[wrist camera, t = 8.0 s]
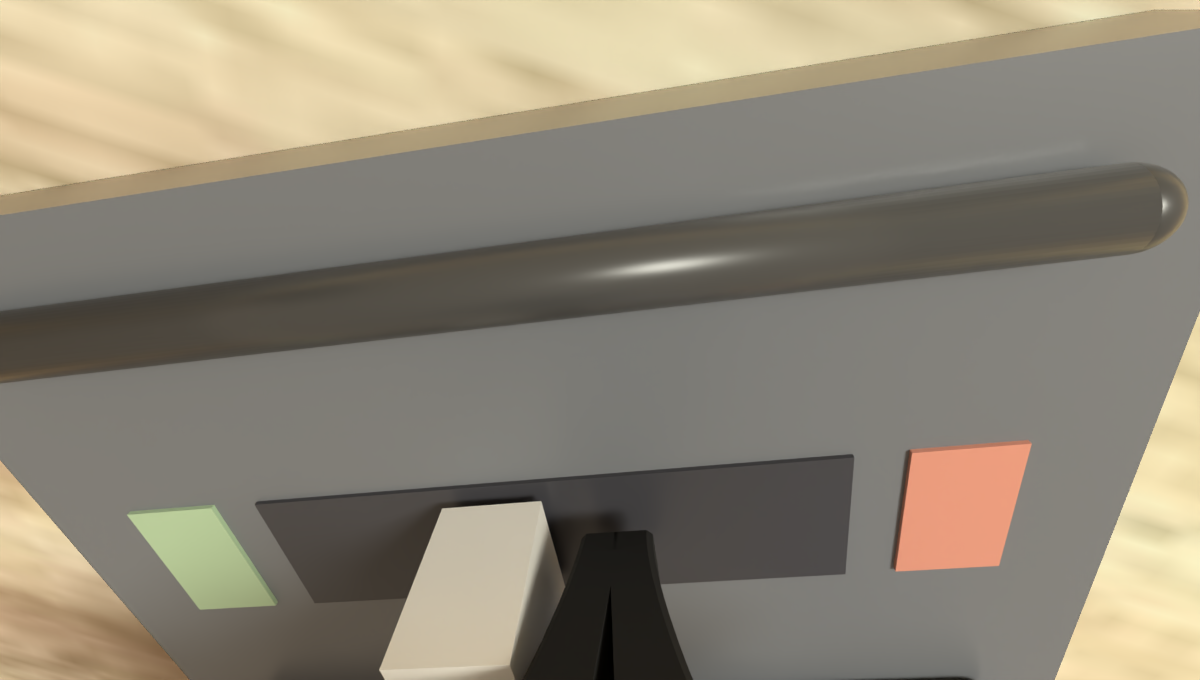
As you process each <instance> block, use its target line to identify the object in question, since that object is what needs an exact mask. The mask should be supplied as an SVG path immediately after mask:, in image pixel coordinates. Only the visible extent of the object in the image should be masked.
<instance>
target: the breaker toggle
mask: <svg viewBox="0 0 1200 680" xmlns="http://www.w3.org/2000/svg"><path fill="white" fill-rule="evenodd" d="M564 588H565V584H564V581H563V577H562V573H561V570H560V566H559V563H558V559H557V556H556V552H555V548H554V545H553V541H552V538H551V534H550V531H549V527H548V523H547V520H546V516H545V513H544V509H543V506H542V502H541V501H536V502H523V503H509V504H496V505H482V506H469V507H456V508H442V510H441V513H440V515H439V518H438V520H437V523H436V526H435V528H434V531H433V533H432V536H431V538H430V541H429V544H428V546H427V549H426V551H425V554H424V556H423V559H422V561H421V564H420V567H419V569H418V572H417V574H416V577H415V579H414V582H413V585H412V587H411V590H410V592H409V595H408V597H407V600H406V603H405V605H404V608H403V610H402V613H401V615H400V618H399V621H398V623H397V626H396V628H395V631H394V633H393V636H392V639H391V641H390V644H389V646H388V649H387V651H386V654H385V656H384V659H383V662H382V664H381V667H380V669H379V670H380V672H381V674H382V676H383V677H384V679H385V680H522V679H523V677H524V675H525V673H526V671H527V669H528V667H529V665H530V663H531V661H532V659H533V658H534V656H535V654H536V652H537V650H538V647H539V645H540V643H541V641H542V639H543V637H544V635H545V632H546V630H547V628H548V626H549V623H550V621H551V619H552V617H553V614H554V612H555V610H556V608H557V605H558V603H559V601H560V598H561V596H562V593H563V591H564Z"/></svg>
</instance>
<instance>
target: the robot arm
mask: <svg viewBox="0 0 1200 680" xmlns="http://www.w3.org/2000/svg"><path fill="white" fill-rule="evenodd" d="M522 680H693V678H692V676H691V673H690V671H689V668H688V666H687V663H686V660H685V658H684V655H683V652H682V650H681V647H680V644H679V641H678V639H677V636H676V633H675V630H674V627H673V624H672V621H671V618H670V615H669V612H668V609H667V606H666V602H665V599H664V595H663V592H662V588H661V584H660V578H659V571H658V564H657V558H656V551H655V545H654V538H653V534H652V533H651V532H649V531H647V530H637V531H621V532H606V533H590V534H586V535H585V536H584V537H583V538H582V539H581V543H580V546H579V550H578V553H577V556H576V559H575V562H574V564H573V567H572V570H571V573H570V575H569V578H568V581H567V583H566V586H565V588H564V591H563V593H562V596H561V598H560V601H559V603H558V605H557V608H556V610H555V612H554V614H553V617H552V619H551V621H550V623H549V626H548V628H547V630H546V632H545V635H544V637H543V639H542V641H541V643H540V645H539V647H538V650H537V652H536V654H535V656H534V658H533V659H532V661H531V663H530V665H529V667H528V669H527V671H526V673H525V675H524V677H523V679H522Z"/></svg>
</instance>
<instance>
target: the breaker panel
mask: <svg viewBox="0 0 1200 680" xmlns="http://www.w3.org/2000/svg"><path fill="white" fill-rule="evenodd" d="M1199 312H1200V10H1151V11H1145V12H1139V13H1132V14H1126V15H1120V16H1114V17H1107V18H1101V19H1095V20H1089V21H1083V22H1076V23H1070V24H1064V25H1058V26H1052V27H1045V28H1039V29H1033V30H1027V31H1020V32H1014V33H1008V34H1002V35H996V36H989V37H983V38H977V39H971V40H964V41H958V42H952V43H946V44H940V45H933V46H927V47H921V48H915V49H909V50H902V51H896V52H890V53H884V54H877V55H871V56H865V57H859V58H853V59H846V60H840V61H834V62H828V63H821V64H815V65H809V66H803V67H797V68H790V69H784V70H778V71H772V72H766V73H759V74H753V75H747V76H741V77H734V78H728V79H722V80H716V81H710V82H703V83H697V84H691V85H685V86H678V87H672V88H666V89H660V90H654V91H647V92H641V93H635V94H629V95H623V96H616V97H610V98H604V99H598V100H591V101H585V102H579V103H573V104H567V105H560V106H554V107H548V108H542V109H535V110H529V111H523V112H517V113H511V114H504V115H498V116H492V117H486V118H480V119H473V120H467V121H461V122H455V123H448V124H442V125H436V126H430V127H424V128H417V129H411V130H405V131H399V132H392V133H386V134H380V135H374V136H368V137H361V138H355V139H349V140H343V141H337V142H330V143H324V144H318V145H312V146H305V147H299V148H293V149H287V150H281V151H274V152H268V153H262V154H256V155H249V156H243V157H237V158H231V159H225V160H218V161H212V162H206V163H200V164H194V165H187V166H181V167H175V168H169V169H162V170H156V171H150V172H144V173H138V174H131V175H125V176H119V177H113V178H106V179H100V180H94V181H88V182H82V183H75V184H69V185H63V186H57V187H51V188H44V189H38V190H32V191H26V192H19V193H13V194H7V195H1V196H0V460H1V462H2V463H3V464H4V465H5V466H6V467H7V469H8V470H9V471H10V472H11V473H12V474H13V476H14V477H15V478H16V479H17V480H18V481H19V482H20V484H21V485H22V486H23V487H24V488H25V489H26V491H27V492H28V493H29V494H30V495H31V496H32V498H33V499H34V500H35V501H36V502H37V503H38V504H39V506H40V507H41V508H42V509H43V510H44V511H45V513H46V514H47V515H48V516H49V517H50V518H51V520H52V521H53V522H54V523H55V524H56V525H57V526H58V528H59V529H60V530H61V531H62V532H63V533H64V535H65V536H66V537H67V538H68V539H69V540H70V542H71V543H72V544H73V545H74V546H75V547H76V548H77V550H78V551H79V552H80V553H81V554H82V555H83V557H84V558H85V559H86V560H87V561H88V562H89V564H90V565H91V566H92V567H93V568H94V569H95V570H96V572H97V573H98V574H99V575H100V576H101V577H102V579H103V580H104V581H105V582H106V583H107V584H108V586H109V587H110V588H111V589H112V590H113V591H114V593H115V594H116V595H117V596H118V597H119V598H120V599H121V601H122V602H123V603H124V604H125V605H126V606H127V608H128V609H129V610H130V611H131V612H132V613H133V615H134V616H135V617H136V618H137V619H138V620H139V621H140V623H141V624H142V625H143V626H144V627H145V628H146V630H147V631H148V632H149V633H150V634H151V635H152V637H153V638H154V639H155V640H156V641H157V642H158V643H159V645H160V646H161V647H162V648H163V649H164V650H165V652H166V653H167V654H168V655H169V656H170V657H171V659H172V660H173V661H174V662H175V663H176V664H177V665H178V667H179V668H180V669H181V670H182V671H183V672H184V674H185V675H186V676H187V677H188V678H189V679H190V680H385V679H384V677H383V676H382V674H381V672H380V670H379V669H380V667H381V664H382V662H383V659H384V656H385V654H386V651H387V649H388V646H389V644H390V641H391V639H392V636H393V633H394V631H395V628H396V626H397V623H398V621H399V618H400V615H401V613H402V610H403V608H404V605H405V603H406V600H407V597H408V595H409V592H410V590H411V587H412V585H413V582H414V579H415V577H416V574H417V572H418V569H419V567H420V564H421V561H422V559H423V556H424V554H425V551H426V549H427V546H428V544H429V541H430V538H431V536H432V533H433V531H434V528H435V526H436V523H437V520H438V518H439V515H440V513H441V510H442V508H456V507H469V506H482V505H496V504H509V503H523V502H536V501H541V502H542V506H543V509H544V513H545V516H546V520H547V523H548V527H549V531H550V534H551V538H552V541H553V545H554V548H555V552H556V556H557V559H558V563H559V566H560V570H561V573H562V577H563V581H564V584H565V586H566V583H567V581H568V578H569V575H570V573H571V570H572V567H573V564H574V562H575V559H576V556H577V553H578V550H579V546H580V543H581V539H582V538H583V537H584V536H585V535H586V534H590V533H606V532H621V531H637V530H647V531H649V532H651V533H652V534H653V538H654V545H655V551H656V558H657V564H658V571H659V578H660V584H661V588H662V592H663V595H664V599H665V602H666V606H667V609H668V612H669V615H670V618H671V621H672V624H673V627H674V630H675V633H676V636H677V639H678V641H679V644H680V647H681V650H682V652H683V655H684V658H685V660H686V663H687V666H688V668H689V671H690V673H691V676H692V678H693V680H1055V677H1056V675H1057V672H1058V670H1059V667H1060V665H1061V662H1062V660H1063V657H1064V655H1065V652H1066V649H1067V647H1068V644H1069V642H1070V639H1071V637H1072V634H1073V632H1074V629H1075V627H1076V624H1077V622H1078V619H1079V616H1080V614H1081V611H1082V609H1083V606H1084V604H1085V601H1086V599H1087V596H1088V594H1089V591H1090V588H1091V586H1092V583H1093V581H1094V578H1095V576H1096V573H1097V571H1098V568H1099V566H1100V563H1101V561H1102V558H1103V555H1104V553H1105V550H1106V548H1107V545H1108V543H1109V540H1110V538H1111V535H1112V533H1113V530H1114V528H1115V525H1116V522H1117V520H1118V517H1119V515H1120V512H1121V510H1122V507H1123V505H1124V502H1125V500H1126V497H1127V494H1128V492H1129V489H1130V487H1131V484H1132V482H1133V479H1134V477H1135V474H1136V472H1137V469H1138V467H1139V464H1140V461H1141V459H1142V456H1143V454H1144V451H1145V449H1146V446H1147V444H1148V441H1149V439H1150V436H1151V434H1152V431H1153V428H1154V426H1155V423H1156V421H1157V418H1158V416H1159V413H1160V411H1161V408H1162V406H1163V403H1164V401H1165V398H1166V395H1167V393H1168V390H1169V388H1170V385H1171V383H1172V380H1173V378H1174V375H1175V373H1176V370H1177V367H1178V365H1179V362H1180V360H1181V357H1182V355H1183V352H1184V350H1185V347H1186V345H1187V342H1188V340H1189V337H1190V334H1191V332H1192V329H1193V327H1194V324H1195V322H1196V319H1197V317H1198V314H1199Z"/></svg>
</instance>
